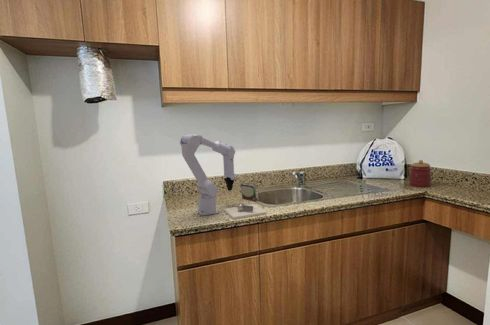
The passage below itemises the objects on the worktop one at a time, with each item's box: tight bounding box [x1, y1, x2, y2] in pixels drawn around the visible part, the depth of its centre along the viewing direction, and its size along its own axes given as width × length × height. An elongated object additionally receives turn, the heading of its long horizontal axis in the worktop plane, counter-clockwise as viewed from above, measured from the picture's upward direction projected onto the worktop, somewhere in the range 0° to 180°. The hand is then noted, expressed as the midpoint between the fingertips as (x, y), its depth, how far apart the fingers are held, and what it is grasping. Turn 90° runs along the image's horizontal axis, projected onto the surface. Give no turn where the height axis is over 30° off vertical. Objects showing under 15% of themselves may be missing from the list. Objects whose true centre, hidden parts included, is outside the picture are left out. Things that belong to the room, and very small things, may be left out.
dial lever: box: [236, 202, 253, 212], centre depth 143 cm, size 9×4×3 cm, turn 61°
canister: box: [408, 159, 433, 188], centre depth 188 cm, size 13×13×18 cm
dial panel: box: [223, 203, 267, 221], centre depth 145 cm, size 18×16×1 cm
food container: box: [239, 182, 258, 202], centre depth 171 cm, size 12×6×10 cm, turn 44°
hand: (229, 190), depth 157 cm, fingers closed
